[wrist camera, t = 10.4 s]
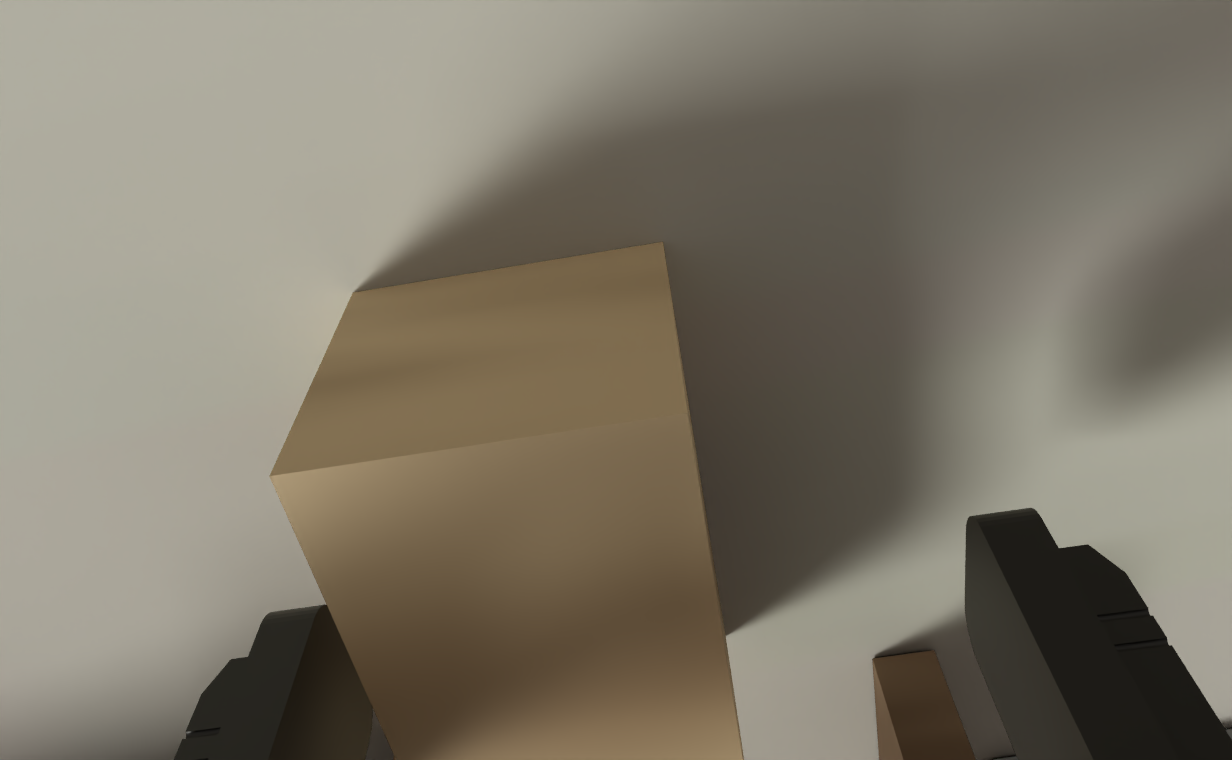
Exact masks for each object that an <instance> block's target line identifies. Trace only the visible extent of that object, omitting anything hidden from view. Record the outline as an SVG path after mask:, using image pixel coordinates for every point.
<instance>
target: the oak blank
mask: <svg viewBox="0 0 1232 760" xmlns="http://www.w3.org/2000/svg"><path fill="white" fill-rule="evenodd" d="M270 478H271V481H272V483H273V485H274V487H275V490H276V492H277V494H278V496H279V499H280V501H281V503H282V505H283V508H284V510H285V512H286V514H287V517H288V519H289V521H290V523H291V526H292V528H293V530H294V532H295V535H296V537H297V539H298V541H299V543H300V546H301V548H302V550H303V552H304V555H305V557H306V559H307V561H308V564H309V566H310V568H311V570H312V573H313V575H314V577H315V579H316V582H317V584H318V586H319V588H320V591H321V593H322V595H323V597H324V600H325V602H326V604H327V606H328V609H329V611H330V613H331V615H332V618H333V620H334V622H335V624H336V626H337V629H338V631H339V633H340V635H341V638H342V640H343V642H344V644H345V647H346V649H347V651H348V653H349V656H350V658H351V660H352V662H353V665H354V667H355V669H356V671H357V674H358V676H359V678H360V680H361V683H362V685H363V687H364V689H365V692H366V694H367V696H368V698H369V700H370V703H371V705H372V707H373V709H374V712H375V714H376V716H377V718H378V721H379V723H380V725H381V727H382V730H383V732H384V734H385V736H386V739H387V741H388V743H389V745H390V748H391V750H392V752H393V754H394V757H395V759H396V760H744V756H743V749H742V743H741V736H740V729H739V723H738V716H737V709H736V703H735V696H734V689H733V683H732V676H731V669H730V663H729V656H728V649H727V643H726V636H725V630H724V623H723V617H722V611H721V605H720V598H719V592H718V586H717V579H716V573H715V567H714V560H713V554H712V548H711V542H710V535H709V529H708V523H707V516H706V510H705V504H704V497H703V491H702V485H701V479H700V472H699V466H698V460H697V453H696V447H695V441H694V434H693V428H692V422H691V416H690V409H689V403H688V397H687V390H686V384H685V378H684V371H683V365H682V359H681V353H680V346H679V340H678V334H677V327H676V321H675V315H674V308H673V302H672V296H671V290H670V283H669V277H668V271H667V264H666V258H665V252H664V245H663V242H658V243H652V244H646V245H640V246H634V247H628V248H621V249H615V250H609V251H603V252H597V253H591V254H585V255H579V256H573V257H567V258H560V259H554V260H548V261H542V262H536V263H530V264H524V265H518V266H512V267H505V268H499V269H493V270H487V271H481V272H475V273H469V274H463V275H457V276H451V277H444V278H438V279H432V280H426V281H420V282H414V283H408V284H402V285H396V286H390V287H383V288H377V289H371V290H365V291H359V292H353V294H352V296H351V298H350V300H349V302H348V305H347V307H346V309H345V311H344V313H343V316H342V318H341V320H340V322H339V324H338V327H337V329H336V331H335V333H334V335H333V338H332V340H331V342H330V344H329V346H328V349H327V351H326V353H325V355H324V357H323V360H322V362H321V364H320V366H319V368H318V371H317V373H316V375H315V377H314V379H313V382H312V384H311V386H310V388H309V390H308V393H307V395H306V397H305V399H304V401H303V404H302V406H301V408H300V410H299V412H298V415H297V417H296V419H295V421H294V424H293V426H292V428H291V430H290V432H289V435H288V437H287V439H286V441H285V443H284V446H283V448H282V450H281V452H280V454H279V457H278V459H277V461H276V463H275V465H274V468H273V470H272V472H271V474H270Z"/></svg>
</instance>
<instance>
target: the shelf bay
mask: <svg viewBox="0 0 1232 760" xmlns="http://www.w3.org/2000/svg"><path fill="white" fill-rule="evenodd" d="M873 674H874V689H875V704H876V719H877V734H878V749H879V760H976V759H975V757H974V754H973V751H972V749H971V746H970V743H969V741H968V738H967V736H966V733H965V730H964V728H963V725H962V722H961V720H960V717H959V714H958V712H957V709H956V707H955V704H954V701H953V699H952V696H951V693H950V691H949V688H948V685H947V683H946V680H945V678H944V675H943V672H942V670H941V667H940V664H939V662H938V659H937V656H936V654H935V651H934V650H932V651H925V652H917V653H910V654H903V655H896V656H888V657H881V658H874V659H873ZM393 760H396V759H395V757H394V758H393Z"/></svg>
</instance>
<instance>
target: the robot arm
mask: <svg viewBox="0 0 1232 760" xmlns="http://www.w3.org/2000/svg"><path fill="white" fill-rule="evenodd" d="M965 614H966V621H967V627H968V632H969V636H970V640H971V644H972V648H973V651H974V654H975V656H976V659H977V661H978V664H979V666H980V669H981V671H982V674H983V676H984V678H985V681H986V683H987V686H988V688H989V691H990V693H991V695H992V698H993V700H994V703H995V705H996V708H997V710H998V712H999V715H1000V717H1001V720H1002V722H1003V725H1004V727H1005V729H1006V732H1007V734H1008V737H1009V739H1010V742H1011V744H1012V746H1013V749H1014V751H1015V754H1016V756H1017V759H1018V760H1232V739H1231V738H1230V736H1229V735H1228V733H1227V731H1226V730H1225V728H1224V727H1223V725H1222V724H1221V722H1220V720H1219V719H1218V717H1217V716H1216V714H1215V713H1214V711H1213V709H1212V708H1211V706H1210V705H1209V703H1208V702H1207V700H1206V698H1205V697H1204V695H1203V694H1202V692H1201V691H1200V689H1199V687H1198V686H1197V684H1196V683H1195V681H1194V680H1193V678H1192V676H1191V675H1190V673H1189V672H1188V670H1187V669H1186V667H1185V665H1184V664H1183V662H1182V661H1181V659H1180V658H1179V656H1178V654H1177V653H1176V651H1175V650H1174V648H1173V647H1172V645H1171V646H1169V645H1168V642H1167V637H1166V636H1165V634H1164V632H1163V631H1162V629H1161V628H1160V626H1159V625H1158V623H1157V621H1156V620H1155V618H1154V617H1153V616H1150V614H1149V611H1148V607H1147V606H1146V604H1145V603H1144V601H1143V599H1142V598H1141V596H1140V595H1139V593H1138V592H1137V590H1136V588H1135V587H1134V585H1133V584H1132V582H1131V580H1130V579H1129V577H1128V576H1127V574H1126V573H1125V572H1124V571H1122V570H1121V569H1120V568H1118V567H1117V566H1116V565H1115V564H1113V563H1112V562H1111V561H1109V560H1108V559H1107V558H1105V557H1104V556H1103V555H1101V554H1100V553H1099V552H1097V551H1096V550H1095V549H1093V548H1092V547H1091V546H1089V545H1081V546H1073V547H1066V548H1058V546H1057V545H1056V543H1055V541H1054V539H1053V538H1052V536H1051V534H1050V532H1049V531H1048V529H1047V527H1046V525H1045V524H1044V522H1043V520H1042V518H1041V517H1040V515H1039V514H1038V513H1037V511H1036V510H1034V509H1033V508H1026V509H1019V510H1012V511H1005V512H997V513H990V514H983V515H976V516H970V517H969V518H968V520H967V524H966V561H965ZM372 719H373V709H372V705H371V703H370V700H369V698H368V696H367V694H366V692H365V689H364V687H363V685H362V683H361V680H360V678H359V676H358V674H357V671H356V669H355V667H354V665H353V662H352V660H351V658H350V656H349V653H348V651H347V649H346V647H345V644H344V642H343V640H342V638H341V635H340V633H339V631H338V629H337V626H336V624H335V622H334V620H333V618H332V615H331V613H330V611H329V609H328V606H327V605H320V606H312V607H305V608H298V609H291V610H284V611H277V612H271V613H269V614H267V615H266V616H265V618H264V619H263V621H262V623H261V625H260V628H259V630H258V633H257V635H256V638H255V640H254V643H253V646H252V648H251V651H250V653H249V656H248V657H245V658H238V659H231V660H230V661H229V662H228V663H227V665H226V666H225V667H224V668H223V669H222V671H221V672H220V673H219V674H218V675H217V676H216V678H215V679H214V680H213V681H212V682H211V684H210V685H209V686H208V687H207V688H206V690H205V691H204V692H203V693H202V694H201V697H200V699H199V701H198V704H197V706H196V708H195V711H194V713H193V716H192V718H191V720H190V723H189V725H188V727H187V730H186V739H182V742H181V744H180V746H179V749H178V751H177V753H176V756H175V758H174V760H365V757H366V752H367V748H368V744H369V740H370V735H371V730H372Z"/></svg>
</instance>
